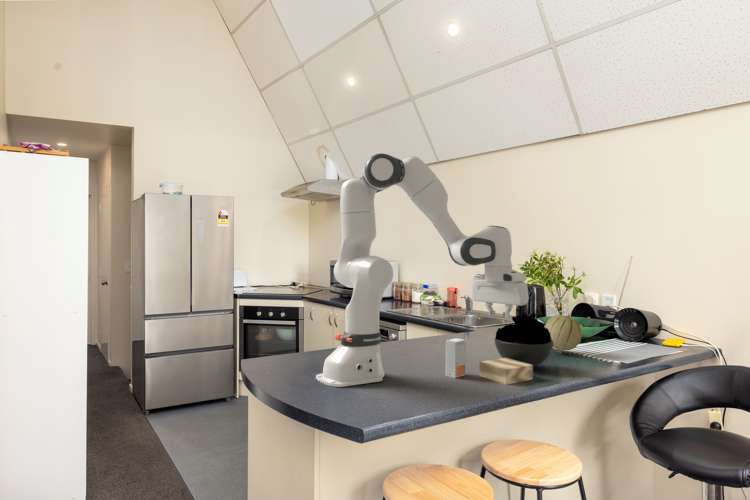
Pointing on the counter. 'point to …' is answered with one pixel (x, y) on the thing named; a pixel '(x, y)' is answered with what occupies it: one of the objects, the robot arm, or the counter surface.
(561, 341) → the cantaloupe
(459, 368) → the skincare box
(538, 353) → the bowl of black rocks
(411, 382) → the counter surface
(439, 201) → the robot arm
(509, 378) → the maple block
